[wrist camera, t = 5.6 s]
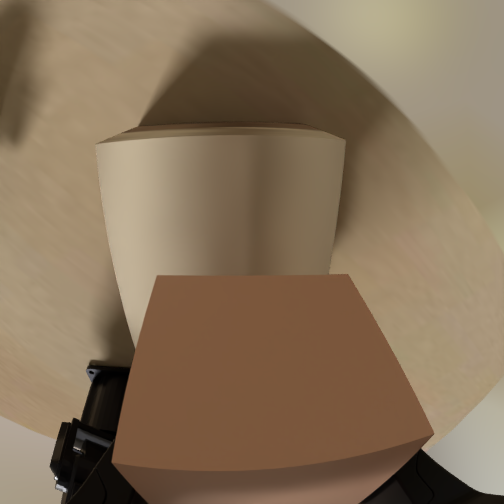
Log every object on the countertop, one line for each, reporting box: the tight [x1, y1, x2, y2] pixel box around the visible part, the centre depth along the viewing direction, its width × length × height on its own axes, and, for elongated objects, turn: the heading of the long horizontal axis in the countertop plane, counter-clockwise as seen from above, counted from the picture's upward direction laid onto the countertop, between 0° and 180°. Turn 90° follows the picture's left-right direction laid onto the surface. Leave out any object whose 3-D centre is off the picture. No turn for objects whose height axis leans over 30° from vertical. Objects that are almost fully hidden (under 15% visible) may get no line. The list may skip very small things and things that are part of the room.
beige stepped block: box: [95, 122, 346, 350], centre depth 15 cm, size 9×11×6 cm
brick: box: [112, 274, 434, 504], centre depth 7 cm, size 5×7×5 cm
